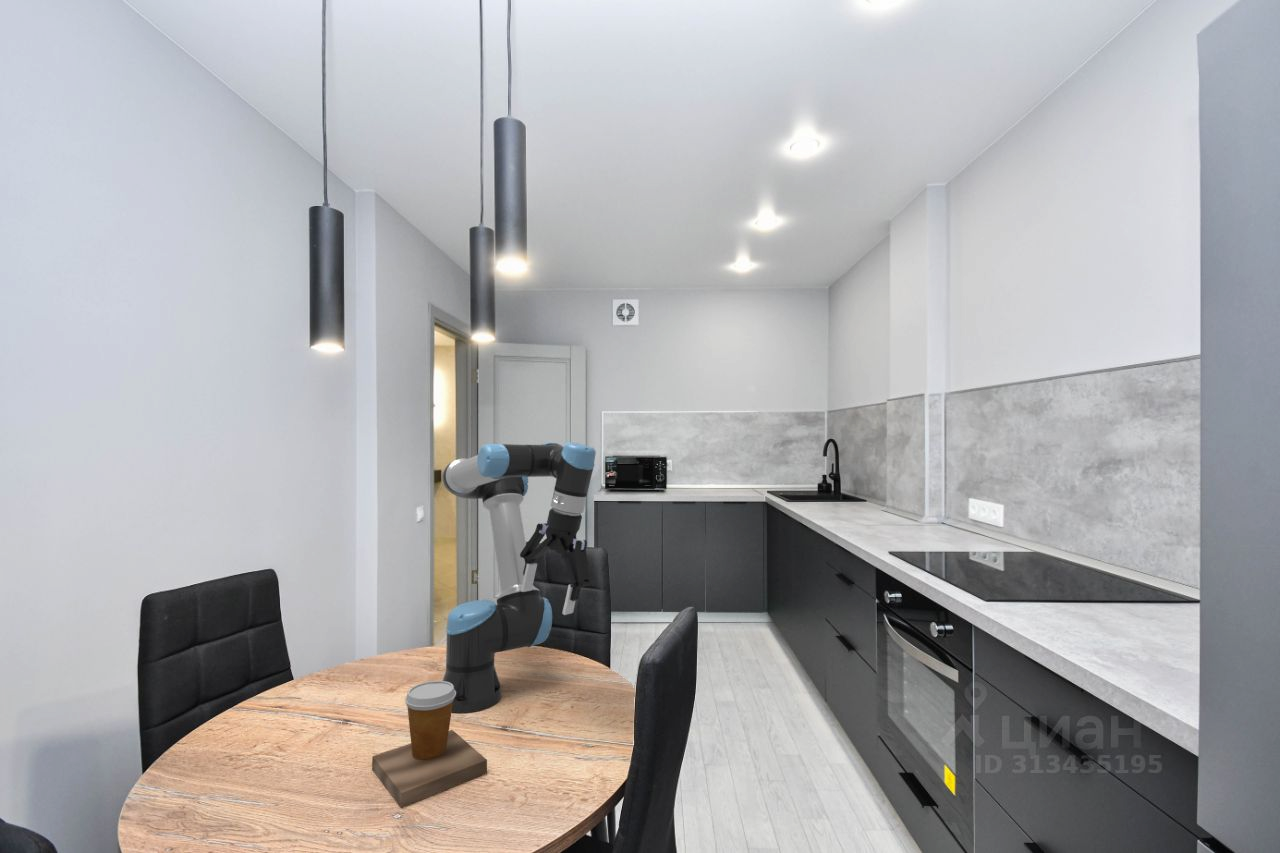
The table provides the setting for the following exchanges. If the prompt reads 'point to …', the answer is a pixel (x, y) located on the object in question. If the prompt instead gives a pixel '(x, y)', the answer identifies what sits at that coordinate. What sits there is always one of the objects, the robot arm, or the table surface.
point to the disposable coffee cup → (429, 717)
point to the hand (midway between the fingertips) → (546, 601)
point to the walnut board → (427, 770)
